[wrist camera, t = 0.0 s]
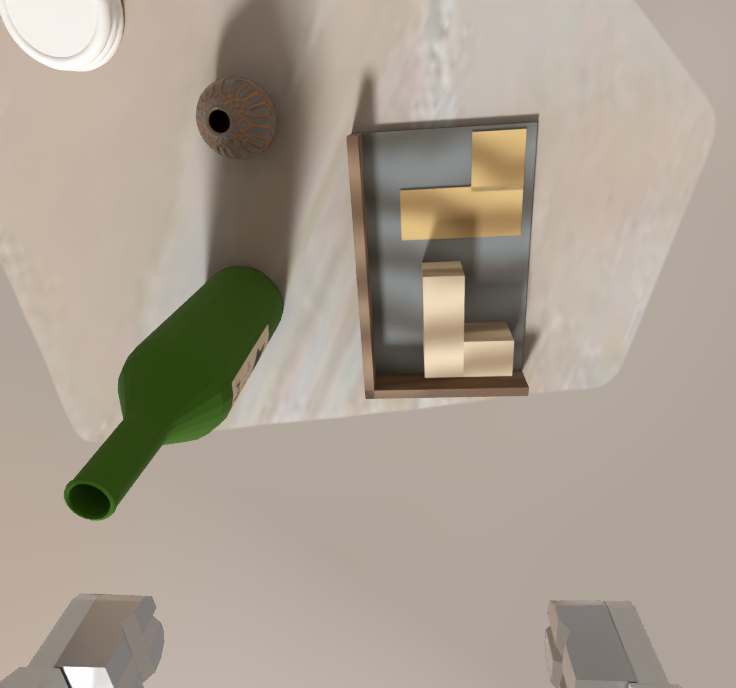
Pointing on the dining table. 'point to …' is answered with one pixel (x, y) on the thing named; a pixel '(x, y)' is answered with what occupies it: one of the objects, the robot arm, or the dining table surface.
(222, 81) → the vase
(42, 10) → the coaster
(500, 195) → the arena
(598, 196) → the dining table surface
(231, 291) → the wine bottle
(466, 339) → the oak L block
